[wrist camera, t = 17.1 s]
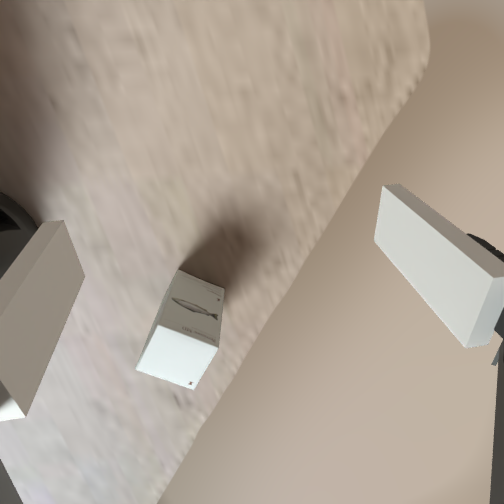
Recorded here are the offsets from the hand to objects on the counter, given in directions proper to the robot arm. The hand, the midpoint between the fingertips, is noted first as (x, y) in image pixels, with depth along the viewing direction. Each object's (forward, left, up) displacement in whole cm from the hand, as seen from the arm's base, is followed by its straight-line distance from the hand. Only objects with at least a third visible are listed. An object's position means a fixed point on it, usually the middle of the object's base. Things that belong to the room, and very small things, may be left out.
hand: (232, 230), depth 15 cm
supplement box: (-4, -23, -29) cm, 37 cm away
